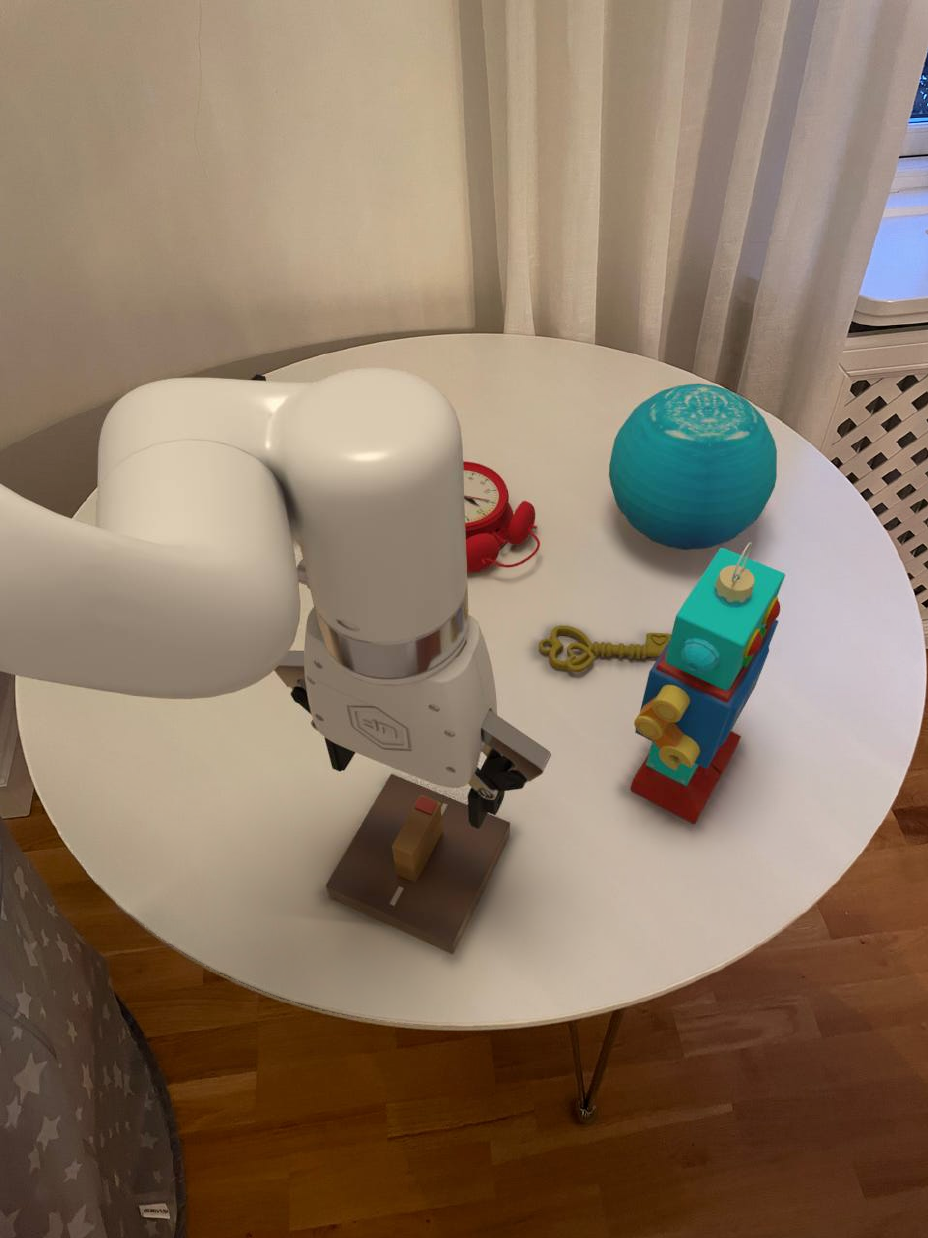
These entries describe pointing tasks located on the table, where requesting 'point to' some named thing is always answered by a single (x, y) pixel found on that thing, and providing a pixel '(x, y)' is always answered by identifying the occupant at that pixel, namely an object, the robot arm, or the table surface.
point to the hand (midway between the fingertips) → (415, 779)
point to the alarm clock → (492, 518)
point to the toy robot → (705, 681)
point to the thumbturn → (417, 838)
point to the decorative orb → (693, 466)
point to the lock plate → (445, 881)
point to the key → (597, 648)
